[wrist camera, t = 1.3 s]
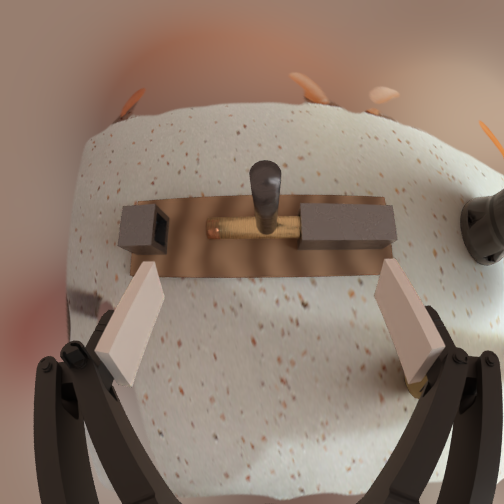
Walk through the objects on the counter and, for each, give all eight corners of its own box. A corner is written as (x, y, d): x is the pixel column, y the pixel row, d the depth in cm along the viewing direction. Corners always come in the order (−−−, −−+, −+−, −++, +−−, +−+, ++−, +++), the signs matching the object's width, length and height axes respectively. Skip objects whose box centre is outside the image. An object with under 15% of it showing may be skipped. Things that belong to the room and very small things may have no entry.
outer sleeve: (378, 218, 45) (392, 205, 38) (381, 249, 43) (397, 239, 37) (296, 217, 45) (300, 203, 39) (297, 250, 44) (302, 240, 38)
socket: (169, 218, 47) (155, 203, 40) (166, 254, 45) (151, 245, 39) (140, 219, 47) (123, 206, 40) (136, 254, 46) (117, 245, 39)
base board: (381, 200, 47) (384, 197, 45) (390, 274, 44) (393, 273, 42) (141, 204, 49) (137, 201, 48) (133, 276, 46) (130, 275, 45)
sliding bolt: (372, 220, 43) (426, 168, 24) (374, 240, 42) (433, 196, 24) (211, 221, 44) (175, 163, 26) (210, 242, 43) (171, 193, 25)
